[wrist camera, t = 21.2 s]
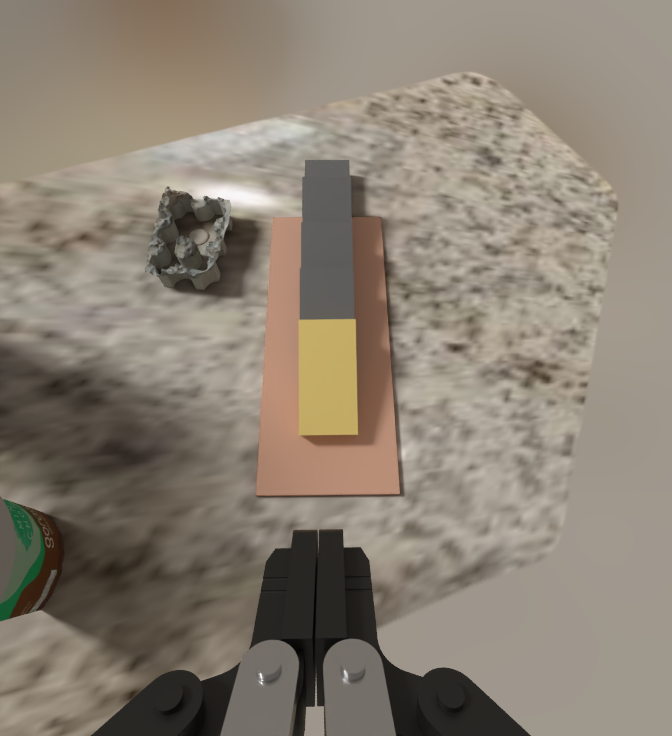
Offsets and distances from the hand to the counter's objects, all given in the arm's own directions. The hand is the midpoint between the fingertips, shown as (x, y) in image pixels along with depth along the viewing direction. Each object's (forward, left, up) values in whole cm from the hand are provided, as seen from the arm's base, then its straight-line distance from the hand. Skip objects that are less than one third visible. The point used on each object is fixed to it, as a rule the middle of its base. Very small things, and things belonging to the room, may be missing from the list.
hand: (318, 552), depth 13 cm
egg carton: (-32, +12, -24) cm, 42 cm away
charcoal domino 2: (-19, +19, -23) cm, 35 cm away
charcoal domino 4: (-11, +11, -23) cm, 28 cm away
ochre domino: (-7, +7, -23) cm, 25 cm away
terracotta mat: (-14, +14, -24) cm, 31 cm away
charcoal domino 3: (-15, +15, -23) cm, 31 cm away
